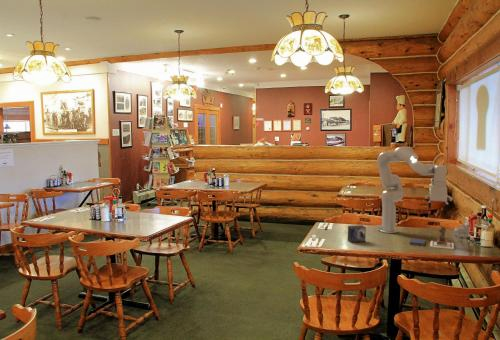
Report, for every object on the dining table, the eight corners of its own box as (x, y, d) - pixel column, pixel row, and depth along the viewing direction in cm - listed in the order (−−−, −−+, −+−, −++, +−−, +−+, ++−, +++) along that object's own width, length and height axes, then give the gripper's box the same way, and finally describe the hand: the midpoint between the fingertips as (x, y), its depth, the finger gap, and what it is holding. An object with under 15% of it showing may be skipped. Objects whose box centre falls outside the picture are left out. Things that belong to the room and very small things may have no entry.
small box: (351, 243, 284) (351, 227, 283) (347, 240, 290) (347, 225, 289) (365, 242, 286) (366, 227, 285) (361, 239, 292) (361, 225, 291)
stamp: (436, 244, 276) (437, 227, 274) (436, 242, 281) (437, 225, 280) (446, 245, 273) (447, 228, 272) (446, 243, 278) (447, 226, 277)
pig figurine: (474, 237, 297) (474, 222, 296) (457, 238, 296) (457, 223, 295) (469, 235, 302) (470, 221, 302) (452, 236, 301) (453, 221, 300)
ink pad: (409, 244, 280) (409, 242, 280) (411, 240, 291) (411, 238, 291) (424, 245, 276) (424, 243, 276) (425, 241, 287) (425, 239, 287)
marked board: (429, 246, 274) (430, 245, 274) (430, 241, 286) (430, 240, 286) (453, 249, 268) (453, 247, 268) (453, 244, 280) (453, 242, 280)
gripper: (424, 183, 279) (423, 209, 281) (453, 185, 272) (452, 211, 274) (425, 182, 286) (424, 207, 288) (453, 184, 278) (452, 209, 280)
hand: (437, 209), depth 281 cm, fingers open, 9 cm apart
